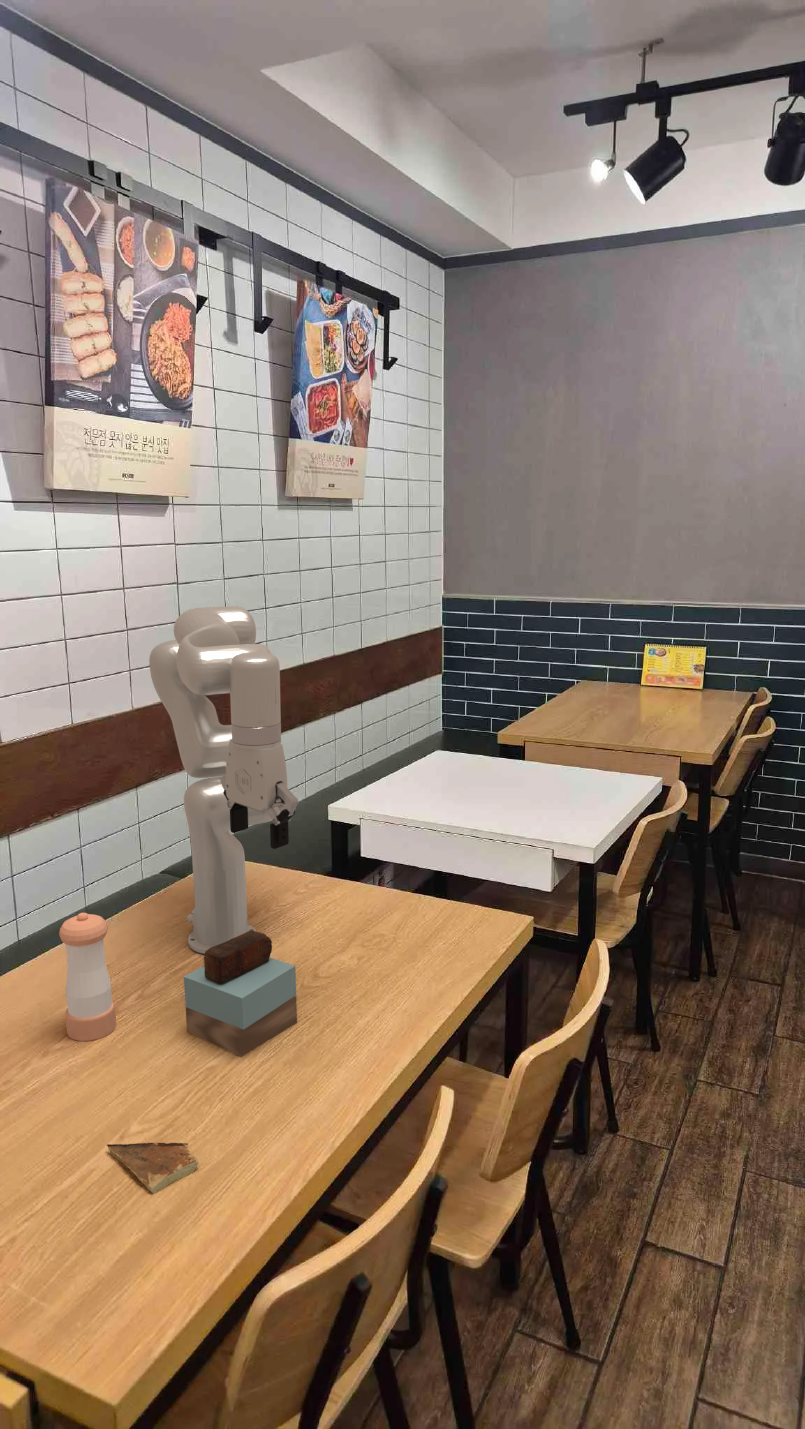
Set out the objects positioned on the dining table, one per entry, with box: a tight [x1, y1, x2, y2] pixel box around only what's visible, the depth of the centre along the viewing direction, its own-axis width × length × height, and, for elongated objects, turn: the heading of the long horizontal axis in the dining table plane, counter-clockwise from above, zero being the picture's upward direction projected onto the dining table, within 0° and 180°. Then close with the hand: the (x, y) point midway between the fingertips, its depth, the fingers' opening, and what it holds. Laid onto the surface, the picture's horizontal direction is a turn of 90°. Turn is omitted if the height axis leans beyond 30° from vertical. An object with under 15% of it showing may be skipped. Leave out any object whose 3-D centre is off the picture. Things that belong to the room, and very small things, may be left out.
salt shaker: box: [58, 912, 117, 1042], centre depth 143 cm, size 7×7×19 cm
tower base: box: [185, 995, 298, 1058], centre depth 145 cm, size 12×12×5 cm
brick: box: [203, 930, 273, 984], centre depth 143 cm, size 11×4×5 cm, turn 142°
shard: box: [106, 1142, 199, 1194], centre depth 115 cm, size 11×8×2 cm
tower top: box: [183, 956, 297, 1030], centre depth 144 cm, size 12×12×5 cm
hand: (259, 838), depth 147 cm, fingers open, 9 cm apart
